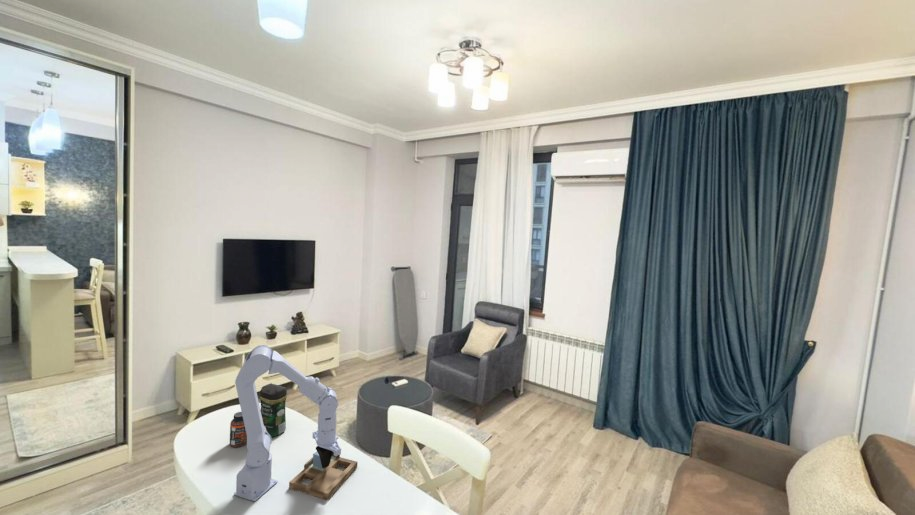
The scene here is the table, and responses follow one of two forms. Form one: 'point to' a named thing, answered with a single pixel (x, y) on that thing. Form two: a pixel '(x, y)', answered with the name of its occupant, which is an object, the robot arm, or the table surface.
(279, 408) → the coffee jar
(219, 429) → the table surface
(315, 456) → the slate block
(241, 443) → the supplement bottle
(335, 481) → the brown compartment tray
